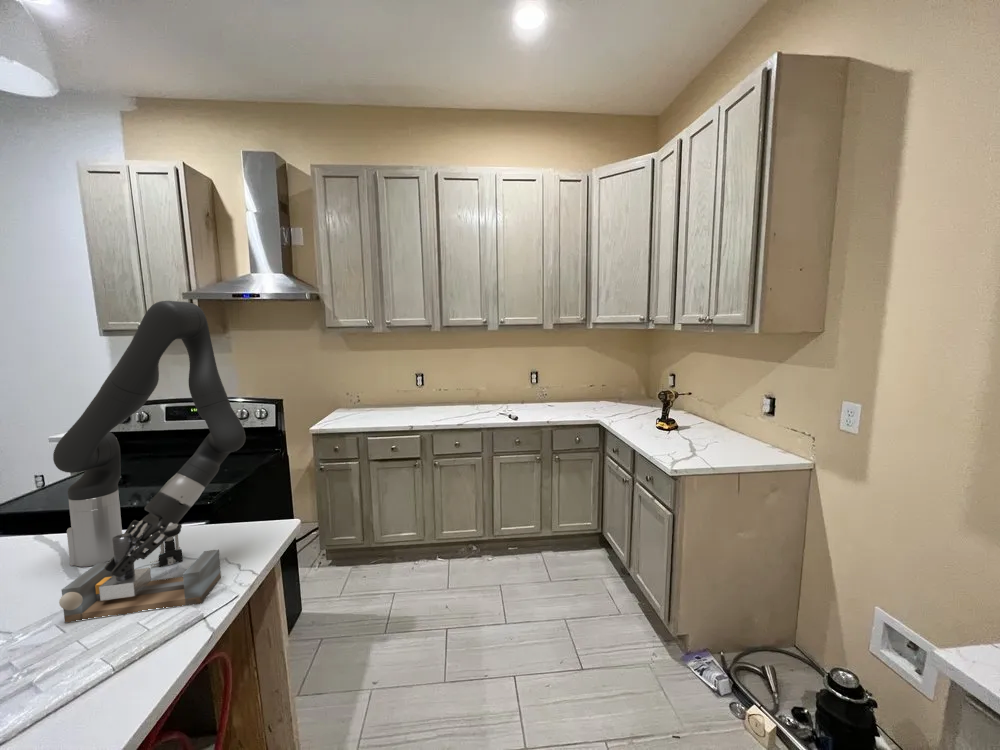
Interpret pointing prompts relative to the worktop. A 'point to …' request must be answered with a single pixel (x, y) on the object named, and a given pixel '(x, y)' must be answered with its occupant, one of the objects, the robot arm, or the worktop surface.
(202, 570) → the rail base
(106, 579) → the orange block
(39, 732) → the worktop surface
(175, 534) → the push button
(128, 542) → the carriage
